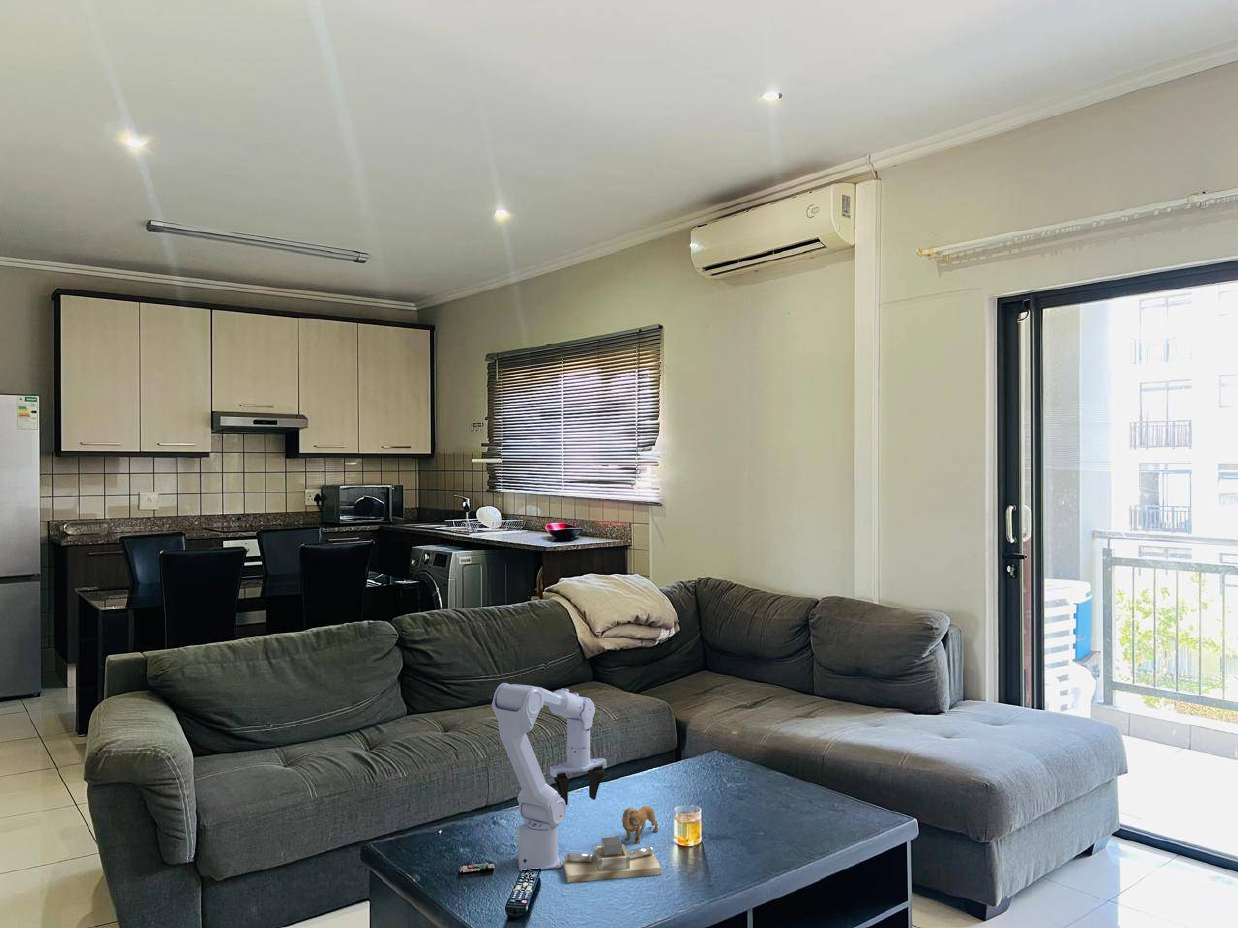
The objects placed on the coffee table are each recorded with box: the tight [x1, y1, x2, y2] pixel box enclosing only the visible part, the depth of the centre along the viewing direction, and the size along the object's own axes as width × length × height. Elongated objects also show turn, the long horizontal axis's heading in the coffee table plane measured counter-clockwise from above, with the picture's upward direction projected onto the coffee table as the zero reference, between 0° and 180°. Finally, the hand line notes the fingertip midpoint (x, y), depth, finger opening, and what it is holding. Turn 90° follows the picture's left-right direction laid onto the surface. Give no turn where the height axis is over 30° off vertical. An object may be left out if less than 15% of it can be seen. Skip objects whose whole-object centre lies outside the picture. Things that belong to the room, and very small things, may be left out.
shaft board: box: [562, 843, 662, 884], centre depth 199 cm, size 21×9×4 cm, turn 101°
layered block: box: [600, 836, 623, 858], centre depth 199 cm, size 4×4×5 cm
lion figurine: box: [621, 805, 659, 844], centre depth 217 cm, size 15×5×9 cm, turn 153°
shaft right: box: [627, 845, 655, 859], centre depth 202 cm, size 7×2×2 cm, turn 116°
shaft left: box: [563, 852, 594, 862], centre depth 199 cm, size 7×2×2 cm, turn 86°
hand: (578, 800), depth 215 cm, fingers open, 7 cm apart
